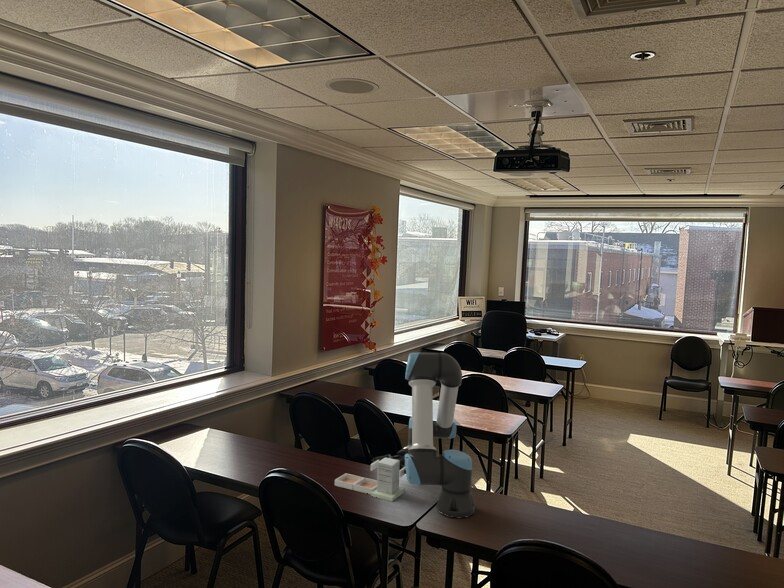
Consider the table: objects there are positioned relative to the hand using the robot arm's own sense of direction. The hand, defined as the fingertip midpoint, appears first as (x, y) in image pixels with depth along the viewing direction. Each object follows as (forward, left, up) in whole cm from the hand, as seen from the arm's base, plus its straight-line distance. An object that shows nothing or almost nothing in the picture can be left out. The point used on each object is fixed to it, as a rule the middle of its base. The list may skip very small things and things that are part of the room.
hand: (385, 470), depth 232 cm
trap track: (+10, +2, -11) cm, 15 cm away
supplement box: (+2, -3, -10) cm, 10 cm away
